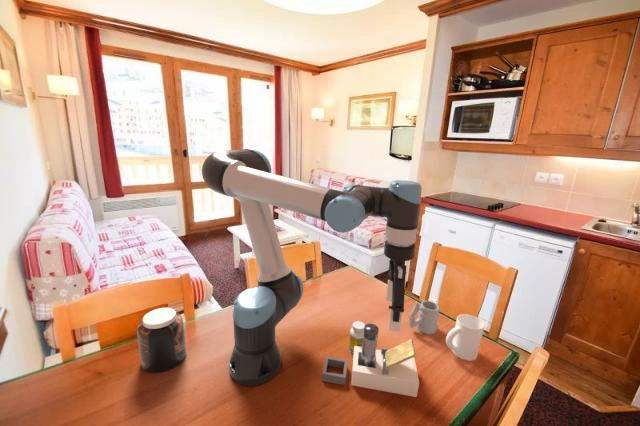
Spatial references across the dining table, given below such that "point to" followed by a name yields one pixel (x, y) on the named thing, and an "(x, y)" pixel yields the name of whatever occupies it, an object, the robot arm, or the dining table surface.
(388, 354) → the brass flap
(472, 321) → the mug
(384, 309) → the dining table surface
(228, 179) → the robot arm
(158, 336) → the jar
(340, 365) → the stand collar
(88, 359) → the dining table surface
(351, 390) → the dining table surface
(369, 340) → the steel pin
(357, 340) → the supplement bottle
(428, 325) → the mug
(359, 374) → the socket block
